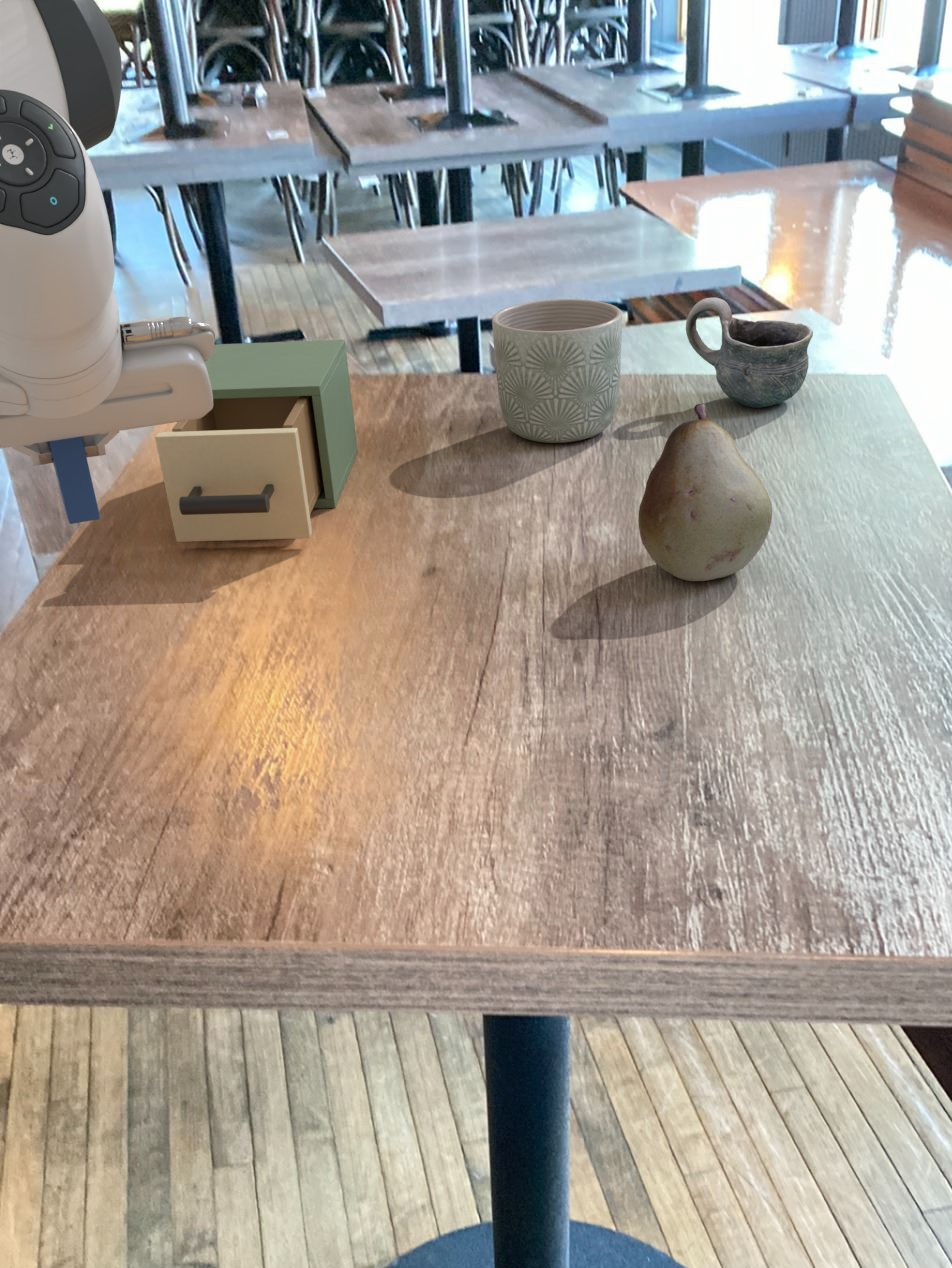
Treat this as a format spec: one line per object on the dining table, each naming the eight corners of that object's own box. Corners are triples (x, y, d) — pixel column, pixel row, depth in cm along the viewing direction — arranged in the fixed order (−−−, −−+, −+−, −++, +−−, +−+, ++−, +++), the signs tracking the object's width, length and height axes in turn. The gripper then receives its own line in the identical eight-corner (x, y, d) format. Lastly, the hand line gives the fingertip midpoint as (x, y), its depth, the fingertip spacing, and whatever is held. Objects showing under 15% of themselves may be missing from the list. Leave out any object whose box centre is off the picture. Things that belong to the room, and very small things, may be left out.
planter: (642, 439, 129) (643, 320, 122) (522, 459, 126) (517, 338, 119) (593, 404, 138) (592, 292, 132) (481, 422, 135) (474, 309, 129)
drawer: (301, 558, 107) (285, 450, 102) (163, 562, 108) (140, 454, 103) (334, 481, 121) (322, 382, 116) (212, 484, 122) (194, 386, 117)
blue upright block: (68, 526, 94) (42, 419, 90) (62, 508, 97) (37, 403, 93) (102, 521, 95) (78, 414, 90) (95, 502, 98) (71, 398, 93)
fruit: (718, 536, 109) (725, 386, 102) (795, 573, 102) (809, 415, 95) (616, 567, 105) (616, 413, 98) (690, 608, 98) (696, 446, 91)
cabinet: (335, 508, 118) (319, 385, 112) (197, 512, 119) (173, 391, 113) (358, 452, 130) (344, 339, 123) (231, 456, 131) (212, 344, 124)
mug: (812, 415, 132) (821, 308, 126) (685, 419, 133) (689, 313, 127) (801, 387, 140) (810, 284, 134) (682, 390, 141) (685, 289, 135)
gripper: (202, 271, 84) (200, 389, 97) (-141, 312, 78) (-93, 432, 92) (228, 362, 83) (223, 468, 96) (-117, 410, 78) (-72, 516, 91)
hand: (66, 451), depth 94 cm, fingers closed on blue upright block, 2 cm apart
